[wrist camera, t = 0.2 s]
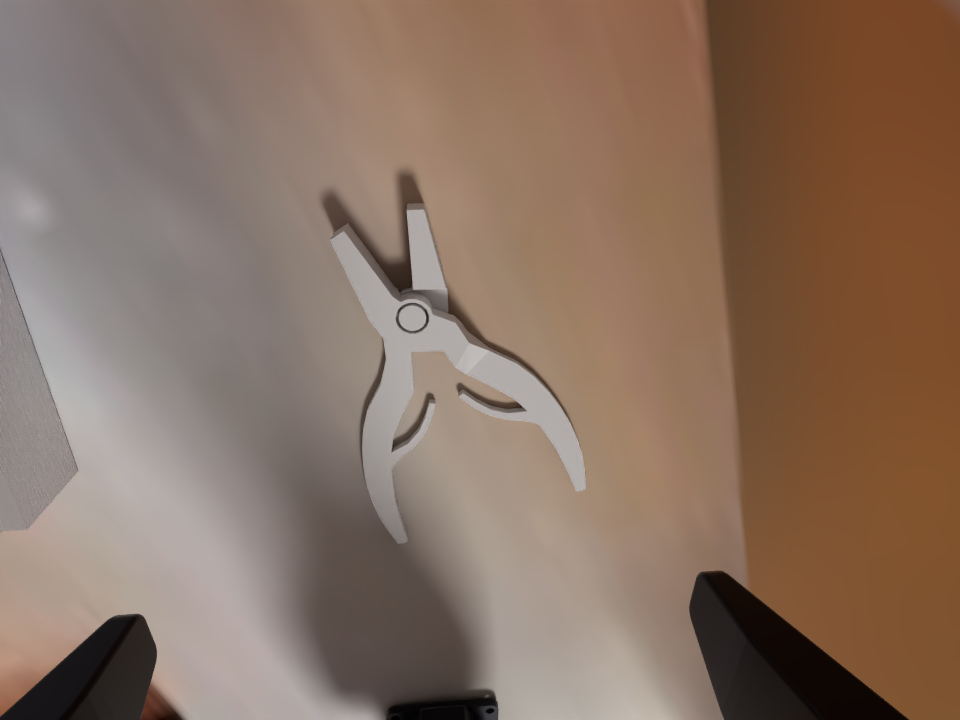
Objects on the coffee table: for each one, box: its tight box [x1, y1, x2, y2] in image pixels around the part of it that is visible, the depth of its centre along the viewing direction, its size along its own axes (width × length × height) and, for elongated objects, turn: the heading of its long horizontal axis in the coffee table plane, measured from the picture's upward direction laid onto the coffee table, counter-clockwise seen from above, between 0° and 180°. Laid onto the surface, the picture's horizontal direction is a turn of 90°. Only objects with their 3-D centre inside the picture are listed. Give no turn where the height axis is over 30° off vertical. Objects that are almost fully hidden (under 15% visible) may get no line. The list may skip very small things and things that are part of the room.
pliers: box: [330, 203, 586, 545], centre depth 24 cm, size 10×2×15 cm
